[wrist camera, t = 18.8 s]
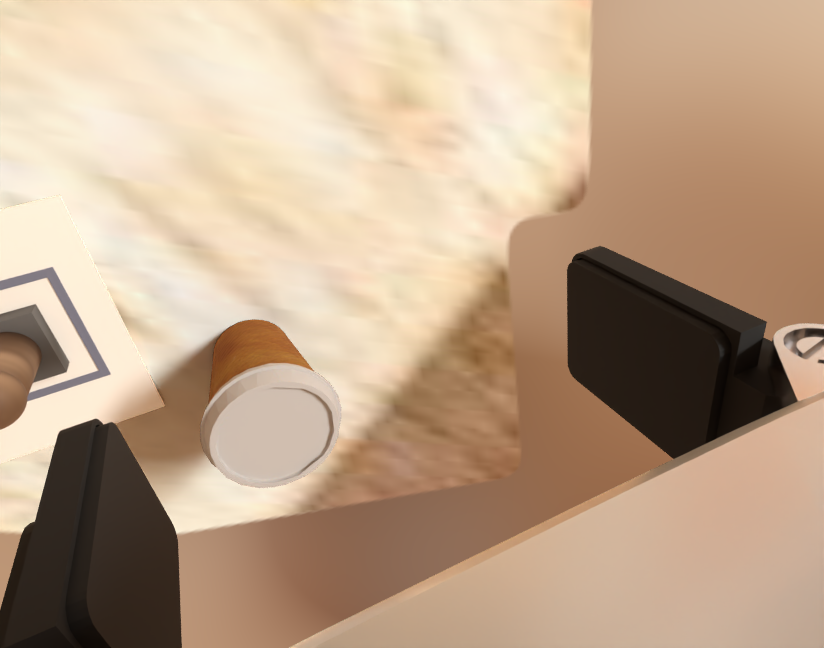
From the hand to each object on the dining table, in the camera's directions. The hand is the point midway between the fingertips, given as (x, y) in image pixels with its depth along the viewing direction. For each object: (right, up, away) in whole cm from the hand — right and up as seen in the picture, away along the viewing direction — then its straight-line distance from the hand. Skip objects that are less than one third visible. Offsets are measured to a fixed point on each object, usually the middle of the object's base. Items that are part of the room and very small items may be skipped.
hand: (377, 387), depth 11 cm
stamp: (-27, 0, +28) cm, 39 cm away
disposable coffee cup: (-13, -1, +35) cm, 38 cm away
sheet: (-28, 0, +28) cm, 39 cm away
